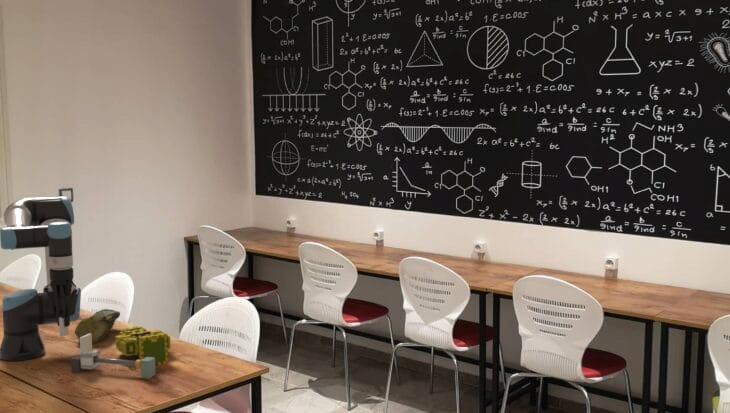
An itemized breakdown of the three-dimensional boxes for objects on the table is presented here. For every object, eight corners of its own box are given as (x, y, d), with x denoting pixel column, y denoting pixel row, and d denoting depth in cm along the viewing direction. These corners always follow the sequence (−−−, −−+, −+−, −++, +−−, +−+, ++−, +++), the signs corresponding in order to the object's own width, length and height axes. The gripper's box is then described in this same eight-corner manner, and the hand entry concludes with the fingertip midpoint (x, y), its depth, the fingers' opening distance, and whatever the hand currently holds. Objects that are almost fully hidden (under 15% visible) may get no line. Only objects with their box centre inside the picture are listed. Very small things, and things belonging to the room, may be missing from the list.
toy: (152, 319, 289) (177, 332, 264) (153, 345, 290) (178, 361, 264) (107, 325, 280) (129, 340, 255) (109, 352, 281) (130, 369, 255)
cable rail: (71, 371, 252) (70, 354, 252) (82, 366, 258) (81, 349, 257) (147, 379, 245) (147, 362, 245) (157, 373, 251) (156, 356, 250)
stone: (115, 344, 285) (125, 317, 308) (105, 317, 281) (116, 292, 305) (77, 354, 283) (90, 327, 307) (66, 328, 280) (81, 302, 304)
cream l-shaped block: (80, 368, 252) (79, 337, 250) (90, 363, 257) (89, 333, 256) (91, 369, 251) (90, 338, 250) (100, 364, 256) (99, 334, 254)
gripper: (37, 268, 250) (40, 336, 253) (70, 270, 247) (73, 339, 250) (52, 264, 257) (55, 331, 260) (84, 266, 254) (87, 333, 257)
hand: (64, 335), depth 255 cm, fingers closed
